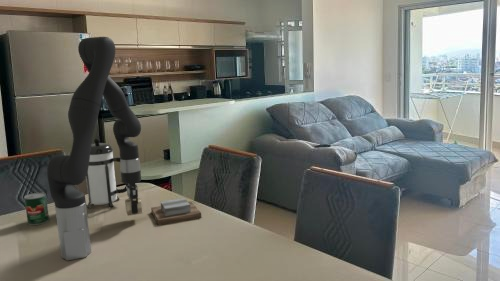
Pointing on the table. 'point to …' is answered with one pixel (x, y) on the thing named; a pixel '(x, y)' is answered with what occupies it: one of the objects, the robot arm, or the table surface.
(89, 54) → the robot arm
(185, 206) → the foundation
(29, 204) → the canned tomato
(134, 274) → the table surface
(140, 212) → the maple block
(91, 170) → the coffee press
